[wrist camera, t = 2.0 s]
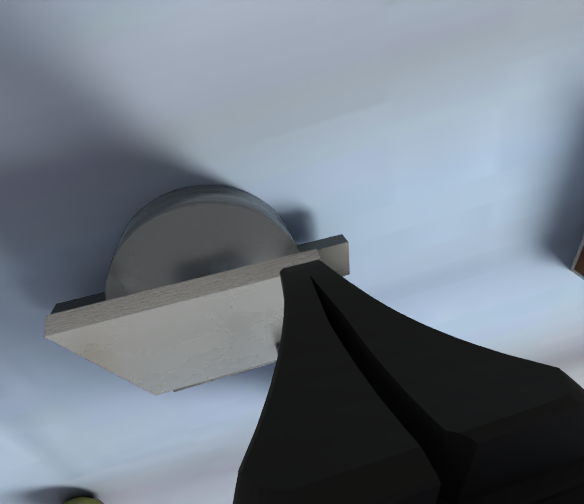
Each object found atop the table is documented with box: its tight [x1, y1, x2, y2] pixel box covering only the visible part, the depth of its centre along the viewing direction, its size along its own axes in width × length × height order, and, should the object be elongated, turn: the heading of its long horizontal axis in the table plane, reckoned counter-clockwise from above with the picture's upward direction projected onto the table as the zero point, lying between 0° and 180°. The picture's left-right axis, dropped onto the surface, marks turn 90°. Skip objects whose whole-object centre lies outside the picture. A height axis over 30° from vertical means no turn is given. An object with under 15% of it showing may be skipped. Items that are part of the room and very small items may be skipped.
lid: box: [44, 249, 321, 395], centre depth 17 cm, size 12×10×2 cm
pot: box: [51, 185, 350, 314], centre depth 21 cm, size 12×17×3 cm
